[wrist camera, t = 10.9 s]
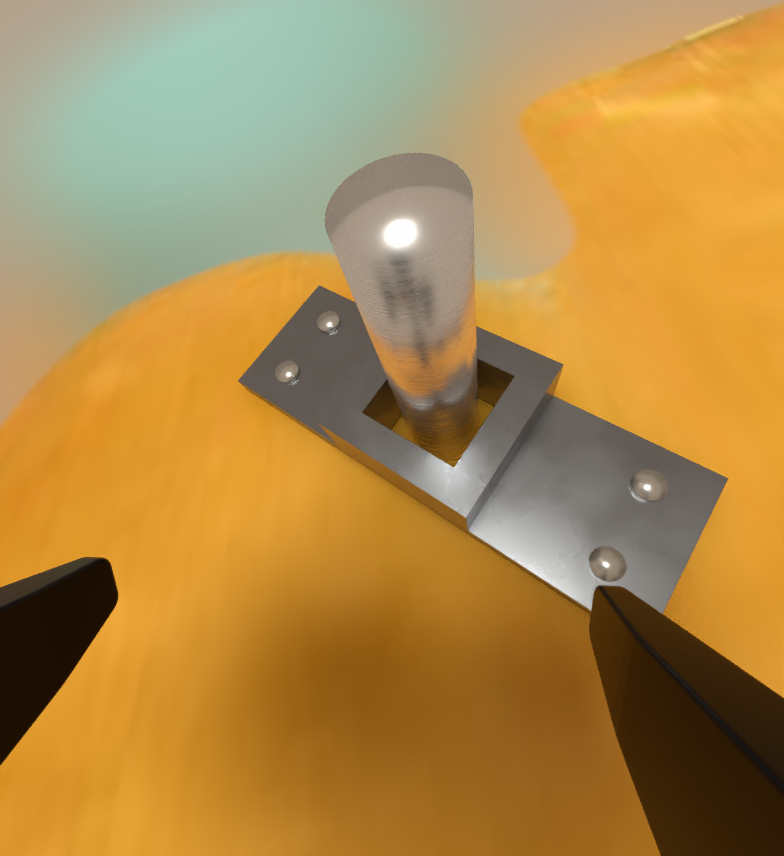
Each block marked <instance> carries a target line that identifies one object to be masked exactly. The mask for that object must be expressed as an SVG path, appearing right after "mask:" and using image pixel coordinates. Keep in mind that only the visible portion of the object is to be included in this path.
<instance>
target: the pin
mask: <svg viewBox="0 0 784 856" xmlns="http://www.w3.org/2000/svg"><path fill="white" fill-rule="evenodd" d="M325 227H326V231H327V234H328V237H329V239H330V241H331V244H332V246H333V249H334V251H335V254H336V256H337V258H338V261H339V263H340V266H341V268H342V271H343V273H344V275H345V278H346V280H347V283H348V285H349V288H350V290H351V292H352V295H353V297H354V300H355V302H356V305H357V307H358V309H359V312H360V314H361V317H362V319H363V321H364V324H365V326H366V329H367V331H368V334H369V336H370V338H371V341H372V343H373V346H374V348H375V351H376V353H377V355H378V358H379V360H380V363H381V365H382V368H383V370H384V372H385V375H386V377H387V380H388V382H389V385H390V387H391V389H392V392H393V394H394V397H395V399H396V402H397V404H398V406H399V409H400V411H401V414H402V416H403V419H404V421H405V423H406V426H407V428H408V431H409V433H410V436H411V438H412V440H413V443H414V444H415V445H417V446H418V447H420V448H422V449H423V450H425V451H427V452H429V453H430V454H432V455H434V456H435V457H437V458H439V459H440V460H442V461H444V462H447V461H453V460H456V459H459V458H461V456H462V455H463V453H464V452H465V450H466V449H467V447H468V446H469V444H470V443H471V441H472V440H473V438H474V437H475V435H476V434H477V432H478V431H479V424H478V384H477V344H476V304H475V267H474V266H475V265H474V224H473V194H472V186H471V183H470V181H469V179H468V177H467V175H466V174H465V173H464V171H463V170H462V169H461V168H460V167H459V166H458V165H456V164H455V163H453V162H452V161H449V160H447V159H445V158H442V157H439V156H436V155H431V154H424V153H406V154H399V155H393V156H390V157H386V158H383V159H380V160H377V161H374V162H372V163H370V164H368V165H366V166H364V167H363V168H361V169H359V170H358V171H357V172H355V173H353V174H352V175H351V176H349V177H348V178H347V179H346V180H345V181H344V182H343V183H342V184H341V185H340V186H339V187H338V189H337V190H336V191H335V192H334V194H333V196H332V197H331V199H330V201H329V203H328V206H327V209H326V214H325Z"/></svg>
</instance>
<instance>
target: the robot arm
mask: <svg viewBox="0 0 784 856" xmlns="http://www.w3.org/2000/svg"><path fill="white" fill-rule="evenodd" d="M117 601H118V590H117V586H116V582H115V578H114V574H113V570H112V566H111V563H110V562H109V561H108V560H107V559H105V558H99V557H83V558H80V559H77V560H75V561H72V562H69V563H66V564H64V565H61V566H58V567H55V568H53V569H50V570H47V571H44V572H42V573H39V574H36V575H33V576H31V577H28V578H25V579H22V580H19V581H17V582H14V583H11V584H8V585H6V586H3V587H0V765H1V764H2V763H3V762H4V760H5V759H6V758H7V757H8V755H9V754H10V753H11V751H12V750H13V749H14V748H15V746H16V745H17V744H18V742H19V741H20V740H21V739H22V737H23V736H24V735H25V733H26V732H27V731H28V730H29V728H30V727H31V726H32V724H33V723H34V722H35V721H36V719H37V718H38V717H39V715H40V714H41V713H42V712H43V710H44V709H45V708H46V706H47V705H48V704H49V703H50V701H51V700H52V699H53V697H54V696H55V695H56V693H57V692H58V691H59V689H60V688H61V687H62V685H63V684H64V683H65V681H66V680H67V678H68V677H69V675H70V674H71V673H72V671H73V670H74V668H75V667H76V665H77V664H78V662H79V661H80V659H81V658H82V656H83V655H84V653H85V652H86V650H87V649H88V647H89V646H90V644H91V643H92V641H93V640H94V638H95V637H96V635H97V634H98V632H99V631H100V629H101V628H102V626H103V625H104V623H105V622H106V620H107V618H108V617H109V615H110V614H111V612H112V611H113V609H114V608H115V606H116V604H117ZM589 632H590V639H591V644H592V647H593V651H594V655H595V659H596V662H597V666H598V670H599V674H600V677H601V681H602V685H603V689H604V692H605V696H606V700H607V704H608V707H609V711H610V715H611V719H612V722H613V726H614V729H615V733H616V736H617V739H618V742H619V745H620V748H621V751H622V754H623V756H624V759H625V762H626V764H627V767H628V770H629V772H630V775H631V778H632V780H633V783H634V786H635V788H636V791H637V794H638V796H639V799H640V802H641V804H642V807H643V810H644V812H645V815H646V818H647V820H648V823H649V825H650V828H651V831H652V833H653V836H654V839H655V841H656V844H657V847H658V849H659V852H660V855H661V856H784V698H783V697H781V696H780V695H779V694H777V693H776V692H774V691H773V690H771V689H770V688H768V687H767V686H766V685H764V684H763V683H761V682H760V681H758V680H757V679H756V678H754V677H753V676H751V675H750V674H748V673H747V672H745V671H744V670H743V669H741V668H740V667H738V666H737V665H735V664H734V663H732V662H731V661H730V660H728V659H727V658H725V657H724V656H722V655H721V654H719V653H718V652H717V651H715V650H714V649H712V648H711V647H709V646H708V645H707V644H705V643H704V642H702V641H701V640H699V639H698V638H696V637H695V636H694V635H692V634H691V633H689V632H688V631H686V630H685V629H683V628H682V627H681V626H679V625H678V624H676V623H675V622H673V621H672V620H670V619H669V618H668V617H666V616H665V615H663V614H662V613H660V612H659V611H657V610H656V609H655V608H653V607H652V606H650V605H649V604H647V603H646V602H645V601H643V600H642V599H640V598H639V597H637V596H636V595H634V594H633V593H632V592H630V591H629V590H627V589H626V588H624V587H621V586H608V585H599V586H597V587H596V588H595V591H594V594H593V602H592V609H591V616H590V624H589Z"/></svg>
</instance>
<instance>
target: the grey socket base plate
mask: <svg viewBox="0 0 784 856" xmlns="http://www.w3.org/2000/svg"><path fill="white" fill-rule="evenodd" d="M476 344H477V384H478V398H479V399H481V400H483V401H485V402H487V403H489V404H491V405H493V406H495V407H494V408H493V410H492V411H491V413H490V414H489V416H488V417H487V419H486V420H485V422H484V423H483V425H482V426H481V428H480V429H479V431H478V432H477V434H476V435H475V437H474V438H473V440H472V441H471V443H470V444H469V446H468V447H467V449H466V450H465V452H464V453H463V455H462V456H461V458H460V460H459V461H458V463H457V464H456V466H455V467H452V466H450V465H449V464H447V463H445V462H444V461H442V460H440V459H439V458H437V457H435V456H434V455H432V454H430V453H429V452H427V451H425V450H423V449H422V448H420V447H418V446H417V445H415V444H413V443H412V442H410V441H408V440H407V439H405V438H403V437H402V436H400V435H398V434H397V433H395V432H393V431H392V430H391V428H392V427H393V426H394V424H395V423H396V422H397V420H398V419H399V417H400V416H401V415H402V414H401V411H400V409H399V406H398V404H397V402H396V399H395V397H394V394H393V392H392V389H391V387H390V385H389V382H388V380H387V377H386V375H385V372H384V370H383V368H382V365H381V363H380V360H379V358H378V355H377V353H376V351H375V348H374V346H373V343H372V341H371V338H370V336H369V334H368V331H367V329H366V326H365V324H364V321H363V319H362V317H361V314H360V312H359V309H358V307H357V305H356V303H355V302H353V301H351V300H349V299H347V298H345V297H342V296H340V295H338V294H336V293H334V292H332V291H330V290H328V289H326V288H323V287H321V286H318V287H317V289H316V290H315V291H314V292H313V293H312V294H311V296H310V297H309V298H308V299H307V300H306V301H305V303H304V304H303V305H302V306H301V307H300V309H299V310H298V311H297V312H296V313H295V314H294V316H293V317H292V318H291V319H290V320H289V321H288V323H287V324H286V325H285V326H284V327H283V329H282V330H281V331H280V332H279V333H278V334H277V336H276V337H275V338H274V339H273V340H272V341H271V343H270V344H269V345H268V346H267V347H266V349H265V350H264V351H263V352H262V353H261V354H260V356H259V357H258V358H257V359H256V360H255V361H254V363H253V364H252V365H251V366H250V367H249V369H248V370H247V371H246V372H245V373H244V374H243V376H242V377H241V378H240V379H239V380H238V381H239V382H240V383H241V384H242V385H243V386H244V387H245V388H246V389H247V390H249V391H251V392H252V393H254V394H255V395H257V396H258V397H260V398H261V399H263V400H264V401H266V402H267V403H269V404H270V405H272V406H273V407H275V408H277V409H278V410H280V411H281V412H283V413H284V414H286V415H287V416H289V417H290V418H292V419H293V420H295V421H296V422H298V423H299V424H301V425H303V426H304V427H306V428H307V429H309V430H310V431H312V432H313V433H315V434H316V435H318V436H319V437H321V438H322V439H324V440H325V441H327V442H329V443H330V444H332V445H333V446H335V447H336V448H338V449H339V450H341V451H342V452H344V453H345V454H347V455H348V456H350V457H351V458H353V459H355V460H356V461H358V462H359V463H361V464H362V465H364V466H365V467H367V468H368V469H370V470H371V471H373V472H374V473H376V474H377V475H379V476H381V477H382V478H384V479H385V480H387V481H388V482H390V483H391V484H393V485H394V486H396V487H397V488H399V489H400V490H402V491H403V492H405V493H407V494H408V495H410V496H411V497H413V498H414V499H416V500H417V501H419V502H420V503H422V504H423V505H425V506H426V507H428V508H429V509H431V510H433V511H434V512H436V513H437V514H439V515H440V516H442V517H443V518H445V519H446V520H448V521H449V522H451V523H452V524H454V525H455V526H457V527H459V528H460V529H462V530H463V531H465V532H466V533H468V534H469V535H471V536H472V537H474V538H475V539H477V540H478V541H480V542H481V543H483V544H485V545H486V546H488V547H489V548H491V549H492V550H494V551H495V552H497V553H498V554H500V555H501V556H503V557H504V558H506V559H507V560H509V561H511V562H512V563H514V564H515V565H517V566H518V567H520V568H521V569H523V570H524V571H526V572H527V573H529V574H530V575H532V576H533V577H535V578H537V579H538V580H540V581H541V582H543V583H544V584H546V585H547V586H549V587H550V588H552V589H553V590H555V591H556V592H558V593H559V594H561V595H563V596H564V597H566V598H567V599H569V600H570V601H572V602H573V603H575V604H576V605H578V606H579V607H581V608H582V609H584V610H585V611H587V612H589V613H590V614H591V609H592V602H593V594H594V591H595V588H596V587H597V586H599V585H608V586H621V587H624V588H626V589H627V590H629V591H630V592H632V593H633V594H634V595H636V596H637V597H639V598H640V599H642V600H643V601H645V602H646V603H647V604H649V605H650V606H652V607H653V608H655V609H656V610H657V611H659V612H660V613H663V611H664V609H665V607H666V605H667V603H668V601H669V599H670V597H671V595H672V593H673V591H674V589H675V587H676V585H677V583H678V581H679V578H680V576H681V574H682V572H683V570H684V568H685V566H686V564H687V562H688V560H689V558H690V556H691V554H692V552H693V550H694V548H695V546H696V544H697V541H698V539H699V537H700V535H701V533H702V531H703V529H704V527H705V525H706V523H707V521H708V519H709V517H710V515H711V513H712V511H713V509H714V507H715V504H716V502H717V500H718V498H719V496H720V494H721V492H722V490H723V488H724V486H725V484H726V482H727V480H728V478H726V477H724V476H722V475H720V474H718V473H716V472H713V471H711V470H709V469H707V468H705V467H703V466H701V465H699V464H696V463H694V462H692V461H690V460H688V459H686V458H684V457H682V456H679V455H677V454H675V453H673V452H671V451H669V450H667V449H665V448H663V447H660V446H658V445H656V444H654V443H652V442H650V441H648V440H646V439H643V438H641V437H639V436H637V435H635V434H633V433H631V432H629V431H626V430H624V429H622V428H620V427H618V426H616V425H614V424H612V423H610V422H607V421H605V420H603V419H601V418H599V417H597V416H595V415H593V414H590V413H588V412H586V411H584V410H582V409H580V408H578V407H576V406H574V405H571V404H569V403H567V402H565V401H563V400H561V399H559V398H557V397H554V396H553V395H554V392H555V389H556V386H557V383H558V380H559V377H560V374H561V371H562V368H563V364H561V363H559V362H557V361H554V360H552V359H550V358H547V357H545V356H543V355H541V354H538V353H536V352H534V351H531V350H529V349H527V348H525V347H522V346H520V345H518V344H515V343H513V342H511V341H509V340H506V339H504V338H502V337H500V336H497V335H495V334H493V333H490V332H488V331H486V330H484V329H481V328H479V327H477V326H476Z"/></svg>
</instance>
